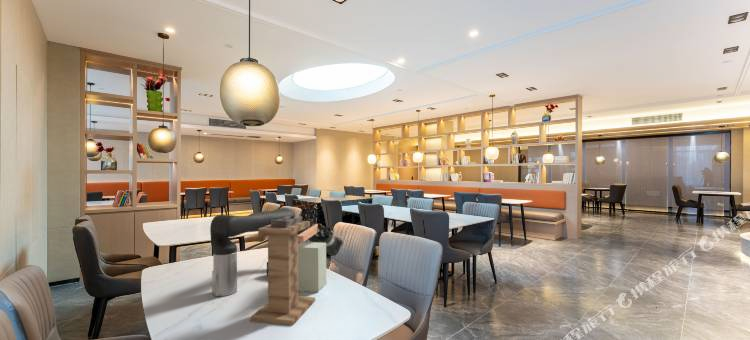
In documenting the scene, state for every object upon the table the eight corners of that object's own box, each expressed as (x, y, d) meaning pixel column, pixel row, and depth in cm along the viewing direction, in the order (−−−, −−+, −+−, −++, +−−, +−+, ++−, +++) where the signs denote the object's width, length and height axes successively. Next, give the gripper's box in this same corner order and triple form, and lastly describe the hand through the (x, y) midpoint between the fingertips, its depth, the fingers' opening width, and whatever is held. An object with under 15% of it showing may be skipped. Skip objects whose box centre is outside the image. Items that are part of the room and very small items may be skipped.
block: (303, 242, 133) (303, 236, 132) (296, 241, 133) (296, 235, 133) (321, 229, 154) (321, 224, 154) (316, 229, 155) (315, 224, 155)
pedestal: (318, 292, 137) (318, 248, 137) (292, 290, 140) (292, 246, 139) (326, 284, 147) (326, 242, 147) (301, 282, 149) (301, 241, 149)
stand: (293, 325, 108) (292, 223, 108) (250, 321, 111) (249, 222, 111) (315, 301, 128) (314, 215, 128) (278, 298, 131) (277, 214, 131)
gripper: (337, 244, 161) (327, 233, 146) (311, 243, 163) (299, 232, 149) (339, 230, 164) (330, 218, 150) (314, 229, 167) (302, 217, 152)
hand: (314, 225), depth 149 cm, fingers closed on block, 3 cm apart
